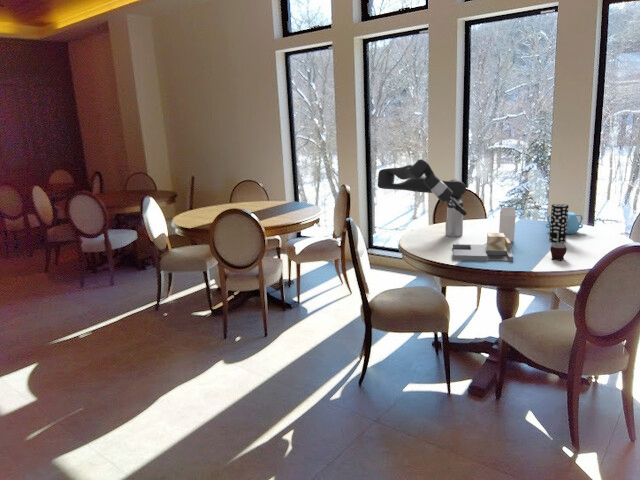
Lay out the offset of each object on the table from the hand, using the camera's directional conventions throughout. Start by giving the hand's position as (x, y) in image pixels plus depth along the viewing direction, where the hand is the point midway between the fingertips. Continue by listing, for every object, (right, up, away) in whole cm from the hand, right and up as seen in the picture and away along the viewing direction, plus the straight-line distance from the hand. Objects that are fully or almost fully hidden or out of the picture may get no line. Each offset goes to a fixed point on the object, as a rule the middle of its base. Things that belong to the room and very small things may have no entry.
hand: (465, 214), depth 258 cm
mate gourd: (+41, -23, -15) cm, 49 cm away
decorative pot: (+69, -9, +36) cm, 78 cm away
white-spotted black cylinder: (+57, -14, +18) cm, 61 cm away
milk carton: (+30, -14, +24) cm, 41 cm away
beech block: (+16, -17, 0) cm, 23 cm away
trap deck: (+8, -21, -2) cm, 22 cm away
